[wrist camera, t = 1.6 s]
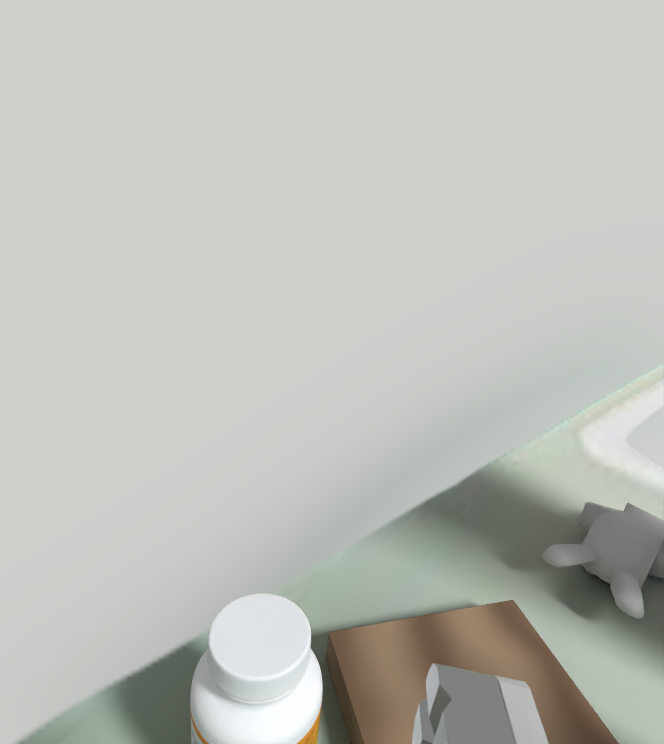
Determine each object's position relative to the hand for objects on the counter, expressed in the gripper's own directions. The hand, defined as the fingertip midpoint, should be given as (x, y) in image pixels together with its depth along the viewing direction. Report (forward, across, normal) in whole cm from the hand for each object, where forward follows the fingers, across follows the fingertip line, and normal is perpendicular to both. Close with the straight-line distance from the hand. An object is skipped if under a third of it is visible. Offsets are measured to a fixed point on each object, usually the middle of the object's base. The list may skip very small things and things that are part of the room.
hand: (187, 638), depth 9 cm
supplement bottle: (+14, -1, +22) cm, 26 cm away
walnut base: (+18, -13, +21) cm, 31 cm away
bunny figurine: (+34, -28, +18) cm, 48 cm away
